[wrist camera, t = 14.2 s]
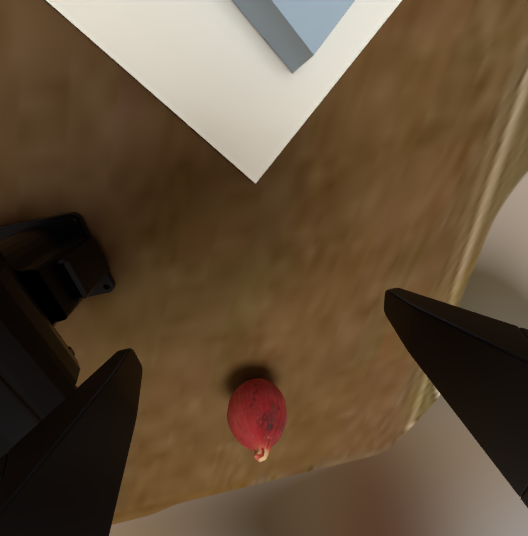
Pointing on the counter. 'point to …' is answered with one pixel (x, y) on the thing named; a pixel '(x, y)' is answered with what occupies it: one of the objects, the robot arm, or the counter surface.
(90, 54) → the counter surface
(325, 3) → the socket block
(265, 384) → the onion
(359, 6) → the white base plate
